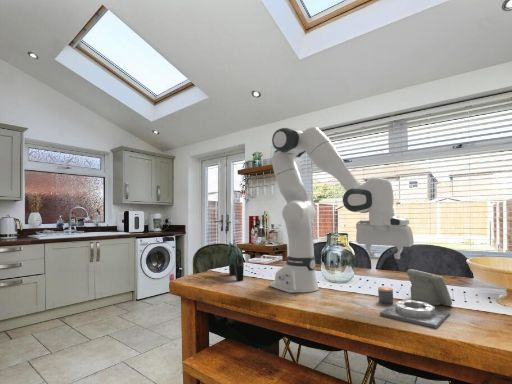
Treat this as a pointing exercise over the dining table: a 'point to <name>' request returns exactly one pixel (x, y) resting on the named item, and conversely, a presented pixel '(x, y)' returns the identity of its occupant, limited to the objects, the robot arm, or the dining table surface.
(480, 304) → the dining table surface
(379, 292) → the dark grey cylinder
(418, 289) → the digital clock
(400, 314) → the flat square base plate
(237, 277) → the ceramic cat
